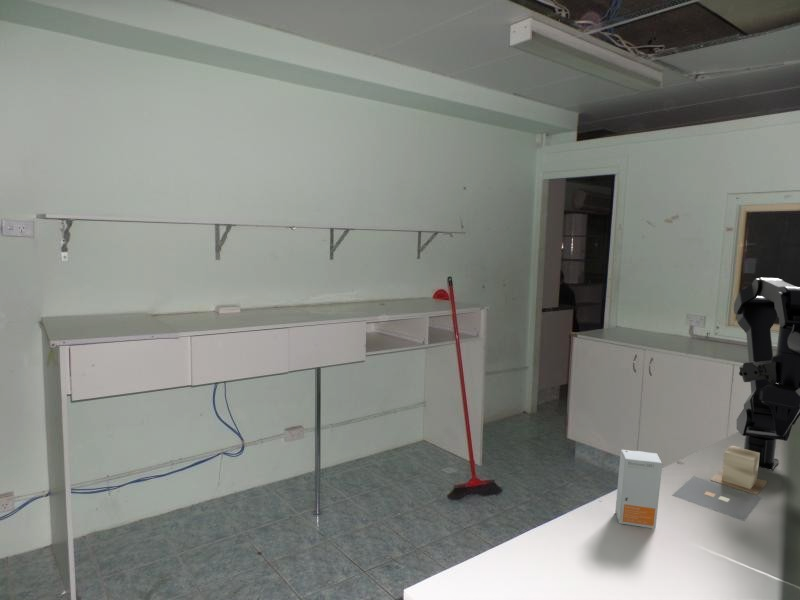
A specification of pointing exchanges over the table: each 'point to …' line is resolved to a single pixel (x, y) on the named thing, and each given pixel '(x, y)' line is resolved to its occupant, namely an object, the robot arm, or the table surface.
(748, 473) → the birch block
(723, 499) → the tile
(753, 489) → the pad
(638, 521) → the skincare box
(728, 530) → the table surface
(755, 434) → the robot arm
